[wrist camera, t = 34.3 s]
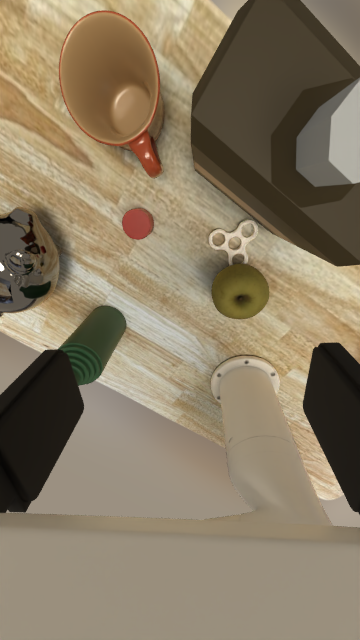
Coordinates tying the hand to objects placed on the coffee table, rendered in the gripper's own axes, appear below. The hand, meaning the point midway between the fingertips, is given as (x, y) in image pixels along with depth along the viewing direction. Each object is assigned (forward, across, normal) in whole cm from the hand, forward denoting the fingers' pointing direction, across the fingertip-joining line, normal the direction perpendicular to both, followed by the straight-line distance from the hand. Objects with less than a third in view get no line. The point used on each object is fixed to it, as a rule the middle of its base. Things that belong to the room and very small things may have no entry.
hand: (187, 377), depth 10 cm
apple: (+30, -6, +6) cm, 31 cm away
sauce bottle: (+30, +16, +12) cm, 36 cm away
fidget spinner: (+30, -5, 0) cm, 31 cm away
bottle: (+31, -8, -8) cm, 33 cm away
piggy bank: (+31, +24, 0) cm, 39 cm away
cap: (+28, +8, -3) cm, 29 cm away
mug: (+31, +6, -14) cm, 34 cm away
